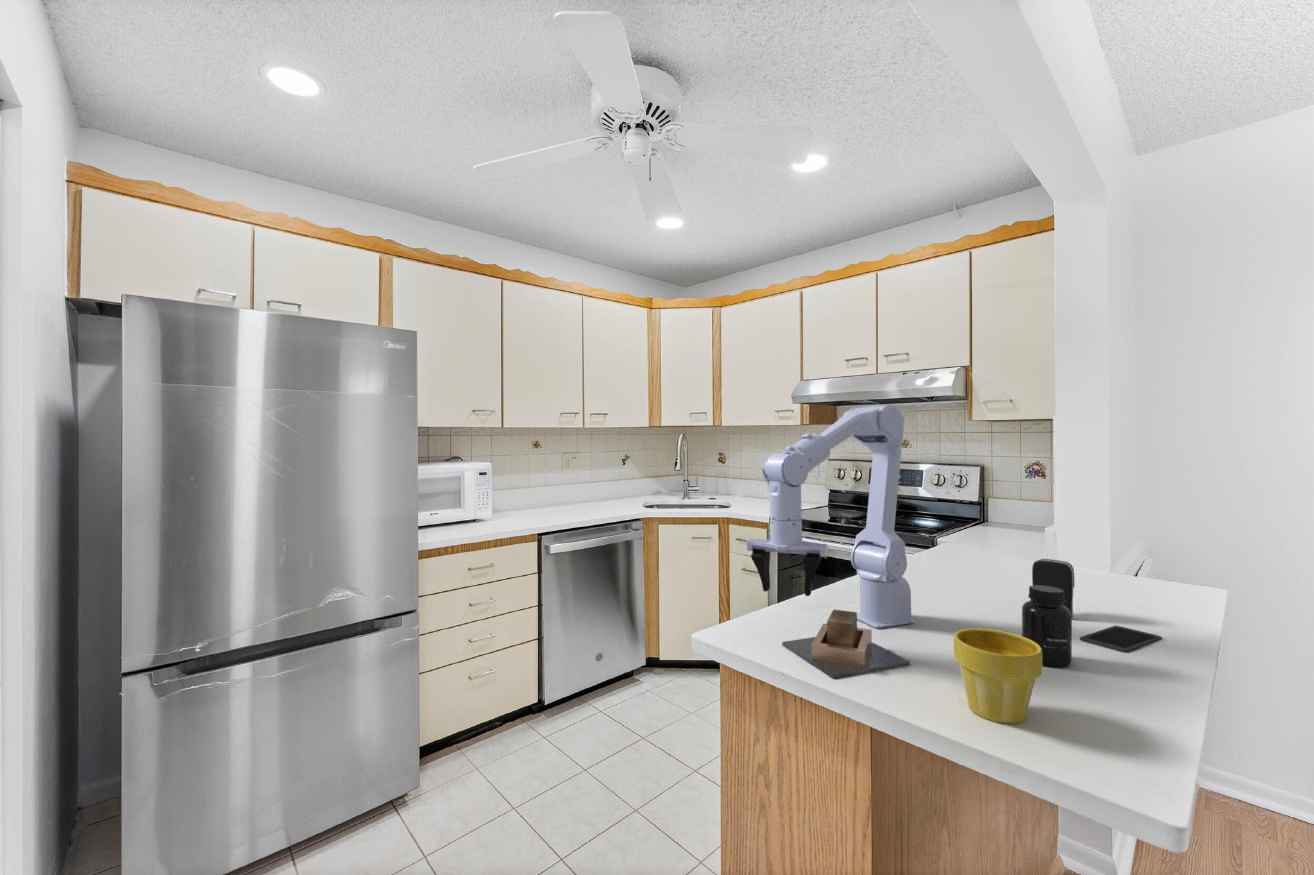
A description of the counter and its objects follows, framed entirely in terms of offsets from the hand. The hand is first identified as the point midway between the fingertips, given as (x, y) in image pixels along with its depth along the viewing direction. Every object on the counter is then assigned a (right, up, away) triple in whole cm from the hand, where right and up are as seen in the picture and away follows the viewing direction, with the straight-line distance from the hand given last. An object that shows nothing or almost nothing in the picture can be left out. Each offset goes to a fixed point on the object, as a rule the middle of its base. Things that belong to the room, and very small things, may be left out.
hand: (787, 592), depth 102 cm
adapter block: (+8, -9, -6) cm, 13 cm away
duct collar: (+8, -9, -6) cm, 14 cm away
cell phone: (+61, -9, -1) cm, 62 cm away
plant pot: (+23, -9, -26) cm, 36 cm away
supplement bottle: (+41, -9, -9) cm, 43 cm away
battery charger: (+59, -9, +13) cm, 61 cm away
